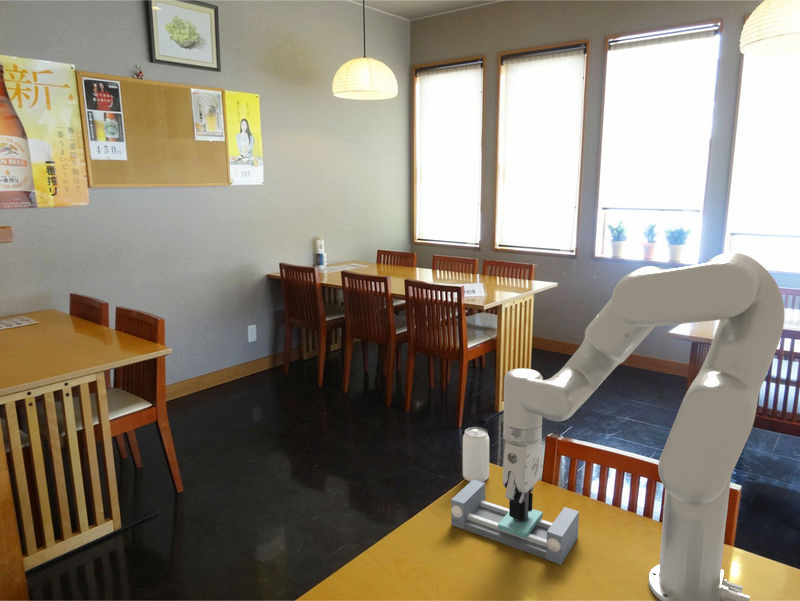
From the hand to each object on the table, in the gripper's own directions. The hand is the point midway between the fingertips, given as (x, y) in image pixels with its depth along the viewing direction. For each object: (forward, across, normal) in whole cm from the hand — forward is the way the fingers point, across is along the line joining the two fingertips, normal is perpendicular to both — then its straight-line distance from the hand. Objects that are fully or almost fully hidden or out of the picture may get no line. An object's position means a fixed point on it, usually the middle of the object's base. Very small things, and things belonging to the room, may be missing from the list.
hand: (520, 512), depth 117 cm
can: (+5, +16, +19) cm, 25 cm away
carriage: (+2, 0, 0) cm, 2 cm away
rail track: (+5, 0, +2) cm, 5 cm away
